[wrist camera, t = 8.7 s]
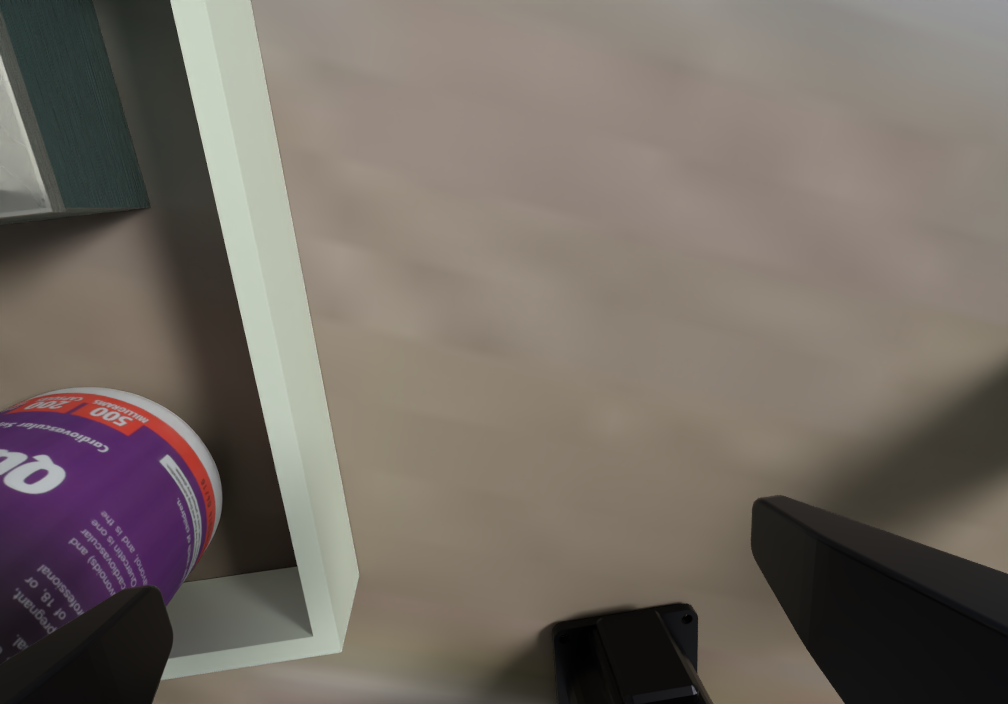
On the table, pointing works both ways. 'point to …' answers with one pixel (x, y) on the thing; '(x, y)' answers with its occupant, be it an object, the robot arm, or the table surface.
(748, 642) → the table surface
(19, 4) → the tin
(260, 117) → the tote
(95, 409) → the pill bottle
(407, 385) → the table surface
